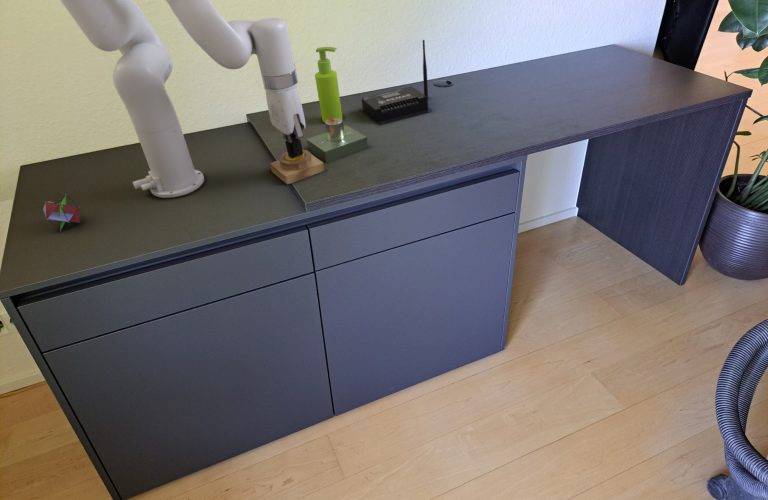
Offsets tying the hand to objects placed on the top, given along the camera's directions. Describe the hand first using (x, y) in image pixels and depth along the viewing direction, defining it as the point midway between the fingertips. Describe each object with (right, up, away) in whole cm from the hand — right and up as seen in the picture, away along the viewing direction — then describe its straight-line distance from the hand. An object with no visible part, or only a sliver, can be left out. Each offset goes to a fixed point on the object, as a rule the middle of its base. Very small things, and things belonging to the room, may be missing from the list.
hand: (295, 155), depth 132 cm
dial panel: (+9, +4, +11) cm, 14 cm away
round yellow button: (0, -1, +1) cm, 2 cm away
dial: (+9, +6, +9) cm, 14 cm away
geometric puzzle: (-49, -17, -9) cm, 53 cm away
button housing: (0, -3, +2) cm, 4 cm away
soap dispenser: (+7, +15, +27) cm, 32 cm away
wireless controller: (+26, +18, +29) cm, 43 cm away
